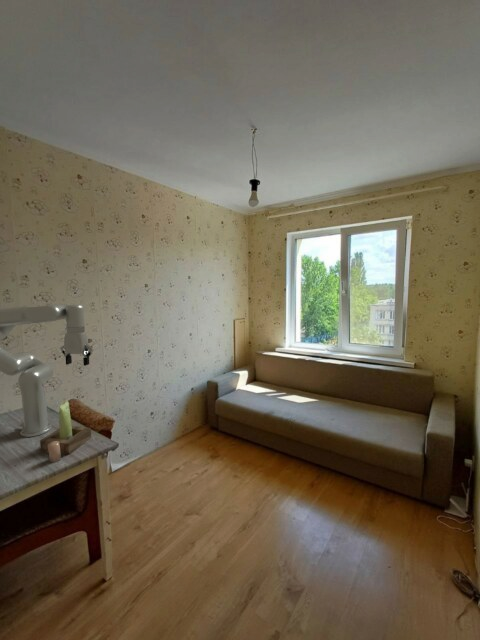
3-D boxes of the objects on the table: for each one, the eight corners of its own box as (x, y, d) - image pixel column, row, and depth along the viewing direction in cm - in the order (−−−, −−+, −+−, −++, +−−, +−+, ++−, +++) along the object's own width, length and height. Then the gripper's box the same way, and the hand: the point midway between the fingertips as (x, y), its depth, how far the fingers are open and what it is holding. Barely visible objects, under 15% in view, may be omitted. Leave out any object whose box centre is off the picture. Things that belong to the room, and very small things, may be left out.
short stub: (48, 462, 117) (45, 447, 116) (52, 456, 121) (50, 441, 120) (58, 461, 118) (56, 446, 116) (62, 455, 121) (60, 440, 120)
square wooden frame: (40, 451, 125) (40, 440, 124) (65, 435, 139) (64, 425, 138) (69, 454, 123) (68, 443, 122) (91, 437, 136) (90, 427, 136)
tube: (58, 444, 131) (55, 403, 128) (70, 439, 134) (67, 399, 132) (62, 448, 127) (59, 406, 125) (74, 444, 131) (72, 403, 129)
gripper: (53, 330, 137) (56, 365, 139) (86, 332, 134) (88, 367, 136) (65, 328, 144) (67, 361, 146) (96, 329, 142) (98, 363, 143)
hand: (77, 364), depth 141 cm, fingers open, 9 cm apart
